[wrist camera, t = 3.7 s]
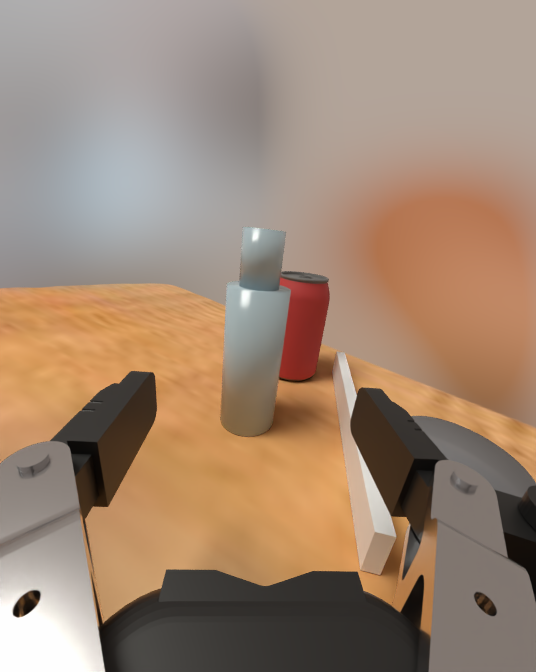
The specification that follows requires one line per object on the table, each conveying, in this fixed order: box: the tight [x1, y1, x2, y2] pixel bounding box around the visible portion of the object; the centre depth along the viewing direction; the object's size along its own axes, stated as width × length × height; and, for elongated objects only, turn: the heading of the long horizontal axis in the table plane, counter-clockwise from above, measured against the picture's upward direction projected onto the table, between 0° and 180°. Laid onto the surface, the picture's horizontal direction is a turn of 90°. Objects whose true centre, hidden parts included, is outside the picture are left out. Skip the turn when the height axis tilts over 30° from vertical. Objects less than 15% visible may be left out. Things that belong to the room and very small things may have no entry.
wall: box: [332, 352, 397, 575], centre depth 23 cm, size 22×1×3 cm, turn 171°
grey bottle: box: [220, 227, 291, 437], centre depth 21 cm, size 5×5×16 cm
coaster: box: [411, 416, 536, 498], centre depth 22 cm, size 10×10×1 cm
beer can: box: [279, 271, 329, 381], centre depth 31 cm, size 7×7×12 cm
